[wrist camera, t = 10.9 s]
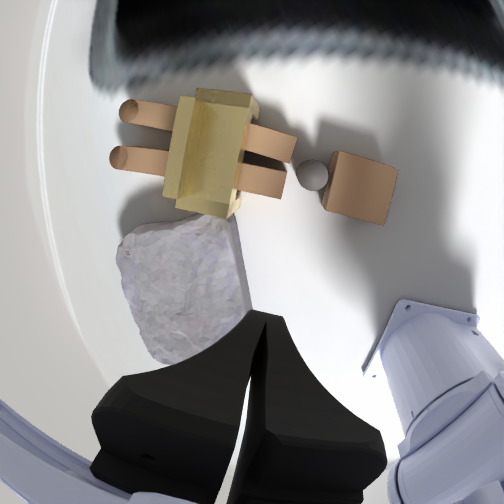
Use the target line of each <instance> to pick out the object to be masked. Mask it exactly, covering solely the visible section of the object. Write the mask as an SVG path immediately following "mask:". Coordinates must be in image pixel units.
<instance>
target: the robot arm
mask: <svg viewBox="0 0 504 504" xmlns="http://www.w3.org/2000/svg"><path fill="white" fill-rule="evenodd" d="M407 305H410V306H409V308H407V309H405V308H406V306H407ZM468 318H469V319H468ZM467 319H468V320H467ZM479 320H480V318H479V316H478V315H477V314H472V313H467V312H462V311H457V310H453V309H448V308H443V307H438V306H434V305H429V304H424V303H420V302H415V301H410V300H406V299H401V300H399V301H398V302H397V304H396V306H395V309H394V311H393V313H392V315H391V318H390V320H389V322H388V324H387V327H386V329H385V331H384V333H383V335H382V337H381V339H380V342H379V344H378V346H377V348H376V350H375V352H374V354H373V356H372V358H371V360H370V362H369V363H368V365H367V367H366V369H365V371H364V373H363V375H364V378H365V379H368V380H377V381H386V382H388V384H389V387H390V390H391V393H392V396H393V399H394V402H395V405H396V408H397V411H398V414H399V418H400V421H401V424H402V428H403V431H404V434H405V439H404V440H403V441H402V442H401V443H400V444H399V445H398V450H399V454H400V459H399V460H397V461H396V462H395V463H394V464H393V465H392V467H391V469H390V471H389V475H388V483H387V484H388V485H387V493H388V498H389V502H390V504H504V360H503V358H502V357H501V356H500V355H499V354H498V352H497V351H496V350H495V349H494V347H493V346H492V345H491V344H490V343H489V342H488V340H487V339H486V338H485V337H484V336H483V335H482V333H481V332H480V331H479V330H478V329H477V328H476V326H477V324H478V322H479ZM373 374H375V375H373ZM372 375H373V376H372ZM250 376H251V381H250V390H249V400H248V409H247V419H246V425H245V431H244V435H243V440H242V444H241V448H240V452H239V457H238V461H237V465H236V469H235V473H234V477H233V481H232V485H231V489H230V492H229V496H228V500H227V503H226V504H361V503H362V502H363V490H364V489H365V488H366V487H367V486H369V485H370V484H371V483H372V482H373V481H374V480H375V479H377V478H378V477H379V476H380V475H381V473H382V472H383V471H384V470H385V469H386V466H387V463H388V462H387V457H386V451H385V446H384V442H383V439H382V436H381V433H380V431H379V430H377V429H376V428H374V427H373V426H371V425H369V424H368V423H366V422H365V421H363V420H362V419H360V418H359V417H357V416H356V415H354V414H353V413H352V412H351V411H349V410H348V409H347V408H346V407H344V406H343V405H342V404H341V403H340V402H339V401H338V400H336V399H335V398H334V397H333V396H332V395H331V394H330V393H329V392H328V391H327V390H326V389H325V388H324V386H323V385H322V384H321V383H320V382H319V381H318V380H317V378H316V377H315V376H314V374H313V373H312V372H311V371H310V369H309V368H308V366H307V365H306V363H305V362H304V360H303V358H302V357H301V355H300V353H299V351H298V350H297V348H296V346H295V344H294V342H293V340H292V338H291V335H290V333H289V331H288V328H287V326H286V323H285V320H284V318H283V317H282V316H278V315H273V314H269V313H265V312H260V311H256V310H252V309H251V310H249V311H248V312H247V313H246V315H245V316H244V317H243V318H242V320H241V321H240V322H239V323H238V324H237V325H236V326H235V327H234V328H232V329H231V330H230V331H229V332H228V333H227V334H226V335H224V336H223V337H222V338H221V339H219V340H218V341H217V342H215V343H214V344H212V345H211V346H209V347H208V348H206V349H205V350H203V351H201V352H200V353H198V354H196V355H194V356H192V357H190V358H188V359H186V360H183V361H181V362H179V363H176V364H173V365H171V366H168V367H164V368H161V369H158V370H154V371H149V372H144V373H139V374H133V375H127V376H122V377H121V378H120V379H119V380H118V381H117V382H116V383H115V384H114V385H113V386H112V387H111V388H110V389H109V390H108V392H107V393H106V394H105V396H104V397H103V398H102V400H101V401H100V402H99V404H98V405H97V406H96V408H95V409H94V410H93V413H92V416H91V418H92V424H93V427H94V429H95V433H96V435H97V438H98V441H99V443H100V446H101V449H100V451H99V453H98V454H97V456H96V457H95V459H94V461H93V462H91V461H89V460H87V459H86V458H84V457H82V456H80V455H79V454H77V453H75V452H73V451H72V450H70V449H68V448H67V447H65V446H63V445H62V444H60V443H59V442H57V441H55V440H54V439H52V438H51V437H49V436H48V435H46V434H45V433H44V432H42V431H41V430H39V429H38V428H36V427H35V426H34V425H32V424H31V423H30V422H28V421H27V420H26V419H24V418H23V417H22V416H20V415H19V414H18V413H17V412H15V411H14V410H13V409H12V408H11V407H9V406H8V405H7V404H6V403H5V402H3V401H2V400H1V399H0V480H1V481H2V482H3V483H4V484H5V485H6V486H8V487H9V488H10V489H11V490H12V491H13V492H15V493H16V494H17V495H18V496H19V497H21V498H22V499H23V500H24V501H26V502H27V503H28V504H214V503H215V501H216V498H217V495H218V492H219V491H220V488H221V485H222V483H223V479H224V477H225V474H226V471H227V469H228V466H229V463H230V460H231V457H232V454H233V451H234V448H235V445H236V440H237V436H238V431H239V427H240V421H241V415H242V409H243V404H244V398H245V393H246V388H247V385H248V382H249V379H250Z"/></svg>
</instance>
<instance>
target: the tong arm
mask: <svg viewBox="0 0 504 504" xmlns="http://www.w3.org/2000/svg"><path fill="white" fill-rule="evenodd" d="M176 112H177V107H176V106H171V105H165V104H159V103H153V102H146V101H139V100H132V99H130V100H127V101H125V102H124V103H123V104H122V105H121V107H120V109H119V117H120V119H121V120H122V121H123V122H127V123H133V124H138V125H144V126H149V127H154V128H159V129H164V130H168V131H173V127H174V122H175V117H176ZM296 141H297V137H294V136H291V135H288V134H284V133H281V132H278V131H275V130H271V129H268V128H265V127H261V126H258V125H254V124H250V128H249V133H248V138H247V143H246V148H245V150H247V151H251V152H254V153H257V154H261V155H264V156H267V157H270V158H273V159H277V160H280V161H283V162H286V163H290V160H291V157H292V154H293V151H294V148H295V144H296Z"/></svg>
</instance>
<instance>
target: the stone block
mask: <svg viewBox="0 0 504 504" xmlns="http://www.w3.org/2000/svg"><path fill="white" fill-rule="evenodd" d="M116 263H117V266H118V268H119V270H120V272H121V276H122V280H121V284H122V288H123V292H124V295H125V298H126V299H127V301H128V303H129V304H130V309H131V313H132V316H133V318H134V320H135V322H136V324H137V326H138V327H139V328H140V335H141V337H142V339H143V341H144V343H145V345H146V347H147V349H148V352H149V353H150V354H151V356H152V357H153V358H154V359H156V360H157V361H159V362H161V363H163V364H167V365H173V364H176V363H179V362H181V361H183V360H186V359H188V358H190V357H192V356H194V355H196V354H198V353H200V352H201V351H203V350H205V349H206V348H208V347H209V346H211V345H212V344H214V343H215V342H217V341H218V340H219V339H221V338H222V337H223V336H224V335H226V334H227V333H228V332H229V331H230V330H231V329H232V328H234V327H235V326H236V325H237V324H238V323H239V322H240V321H241V320H242V318H243V317H244V316H245V315H246V313H247V312H248V311H249V310H251V309H252V304H251V299H250V292H249V287H248V282H247V276H246V271H245V266H244V261H243V257H242V250H241V244H240V239H239V232H238V227H237V222H236V220H235V218H234V215H233V214H232V215H231V216H229V217H228V218H227V219H225V218H220V217H215V216H211V215H206V214H202V213H198V214H196V215H193V216H190V217H187V218H185V219H184V220H180V221H176V222H157V223H148V224H142V225H140V226H138V227H135V228H134V229H133V230H132V231H131V232H130V233H128V234H127V235H126V236H125V237H124V239H123V241H122V242H121V243H120V245H119V246H118V250H117V255H116ZM252 310H253V309H252Z"/></svg>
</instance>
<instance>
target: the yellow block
mask: <svg viewBox="0 0 504 504" xmlns="http://www.w3.org/2000/svg"><path fill="white" fill-rule="evenodd" d="M259 111H260V108H259V106H258V104H257V102H256V101H255V99H254V97H253V96H252V94H246V93H239V92H231V91H223V90H213V89H203V88H197V90H196V95H195V97H188V96H180V98H179V103H178V107H177V112H176V117H175V122H174V127H173V132H172V137H171V143H170V148H169V154H168V160H167V166H166V173H165V179H164V186H163V194H162V197H166V198H172V199H176V205H175V208H178V209H183V210H187V211H192V212H197V213H202V214H206V215H211V216H215V217H220V218H225V219H227V218H228V217H229V216H231V215H232V214H233V213H234V212H235V211H236V210H237V209H239V208H240V204H241V199H242V196H241V195H236V193H237V188H238V183H239V178H240V173H241V167H242V162H243V158H244V153H245V148H246V143H247V138H248V133H249V128H250V124H251V119H256V120H258V116H259Z"/></svg>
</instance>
